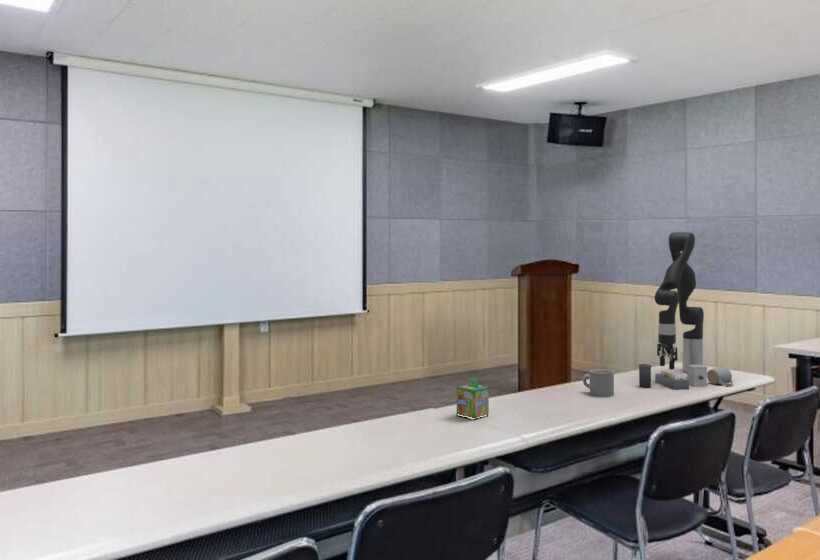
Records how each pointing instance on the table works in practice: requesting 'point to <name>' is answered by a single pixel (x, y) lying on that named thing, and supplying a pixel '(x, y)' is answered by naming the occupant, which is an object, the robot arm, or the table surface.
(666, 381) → the breaker strip
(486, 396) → the chalk box
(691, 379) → the junction box
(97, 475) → the table surface
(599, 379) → the coffee mug
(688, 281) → the robot arm
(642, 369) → the dark grey upright block
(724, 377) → the ceramic mug
